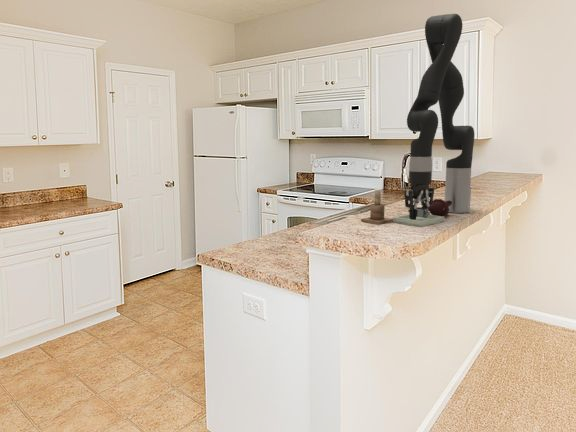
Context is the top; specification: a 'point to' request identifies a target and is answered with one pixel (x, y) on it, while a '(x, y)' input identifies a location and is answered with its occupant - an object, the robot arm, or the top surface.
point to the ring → (421, 212)
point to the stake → (377, 212)
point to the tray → (418, 220)
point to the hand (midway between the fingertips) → (418, 218)
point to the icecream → (439, 207)
